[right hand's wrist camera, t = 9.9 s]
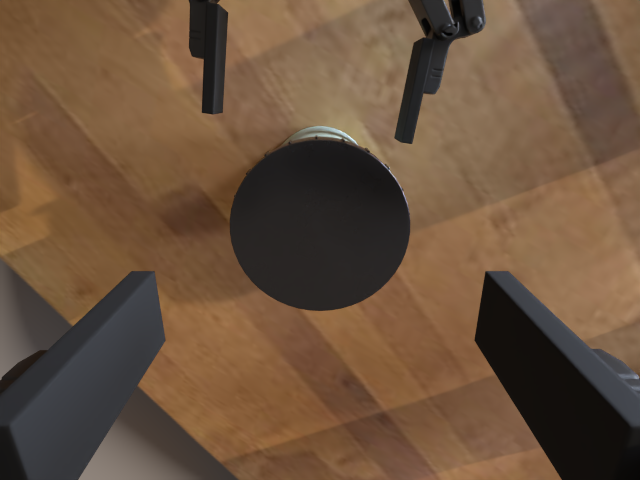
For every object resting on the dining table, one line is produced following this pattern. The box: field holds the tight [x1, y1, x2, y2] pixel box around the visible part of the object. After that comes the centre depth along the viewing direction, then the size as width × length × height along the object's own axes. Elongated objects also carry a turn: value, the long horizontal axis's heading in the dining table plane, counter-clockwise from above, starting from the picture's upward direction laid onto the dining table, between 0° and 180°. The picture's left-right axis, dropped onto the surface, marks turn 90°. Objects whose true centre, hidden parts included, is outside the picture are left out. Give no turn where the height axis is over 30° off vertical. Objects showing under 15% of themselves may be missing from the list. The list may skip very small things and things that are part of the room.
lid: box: [230, 135, 410, 311], centre depth 22 cm, size 10×10×2 cm
